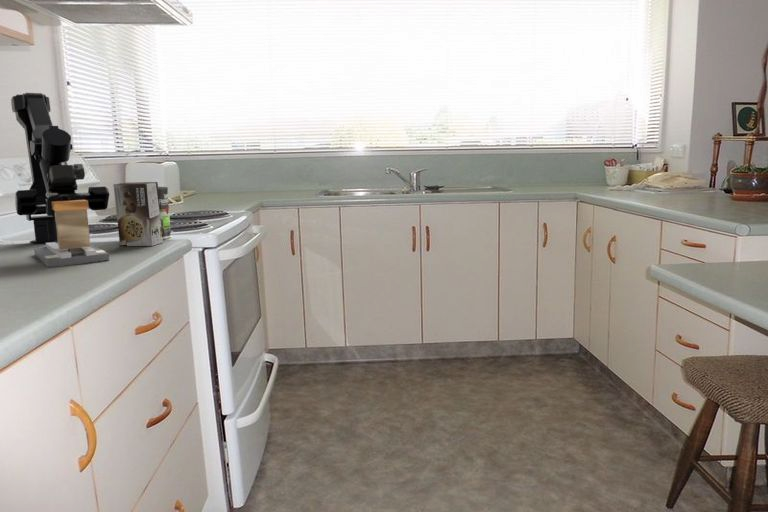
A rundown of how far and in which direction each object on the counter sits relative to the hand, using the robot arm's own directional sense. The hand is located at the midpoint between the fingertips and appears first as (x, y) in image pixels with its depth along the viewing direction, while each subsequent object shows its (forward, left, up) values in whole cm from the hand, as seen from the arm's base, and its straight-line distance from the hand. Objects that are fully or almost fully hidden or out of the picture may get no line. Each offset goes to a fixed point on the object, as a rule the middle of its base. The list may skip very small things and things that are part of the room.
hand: (71, 228), depth 133 cm
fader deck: (-4, -3, -7) cm, 9 cm away
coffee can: (-33, +6, -7) cm, 34 cm away
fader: (+1, +1, -5) cm, 6 cm away
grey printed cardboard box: (-22, +7, -7) cm, 24 cm away
